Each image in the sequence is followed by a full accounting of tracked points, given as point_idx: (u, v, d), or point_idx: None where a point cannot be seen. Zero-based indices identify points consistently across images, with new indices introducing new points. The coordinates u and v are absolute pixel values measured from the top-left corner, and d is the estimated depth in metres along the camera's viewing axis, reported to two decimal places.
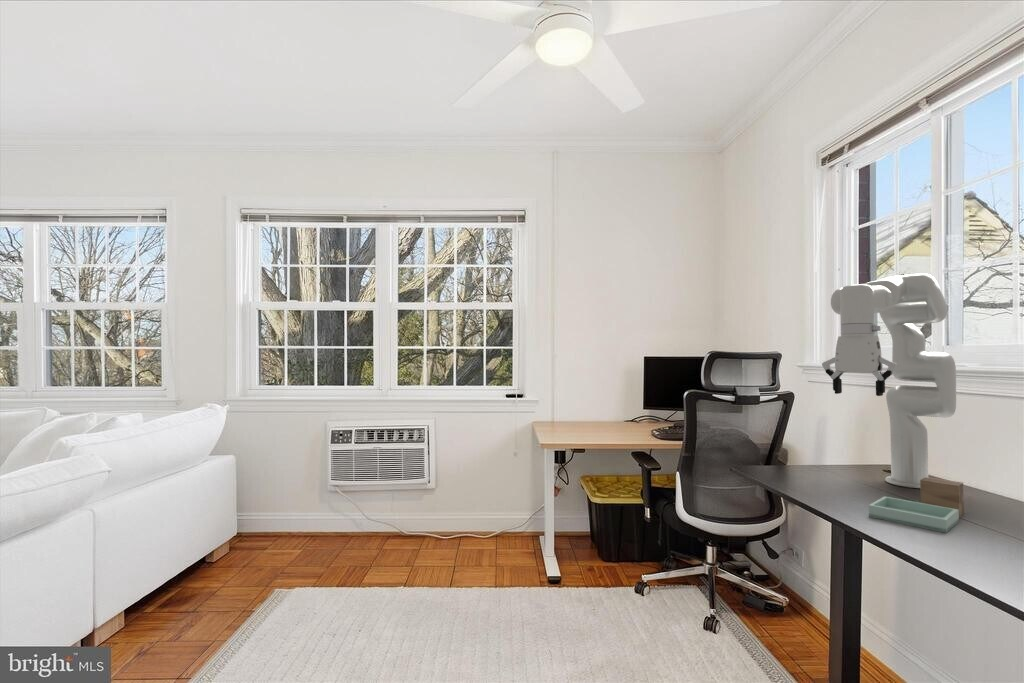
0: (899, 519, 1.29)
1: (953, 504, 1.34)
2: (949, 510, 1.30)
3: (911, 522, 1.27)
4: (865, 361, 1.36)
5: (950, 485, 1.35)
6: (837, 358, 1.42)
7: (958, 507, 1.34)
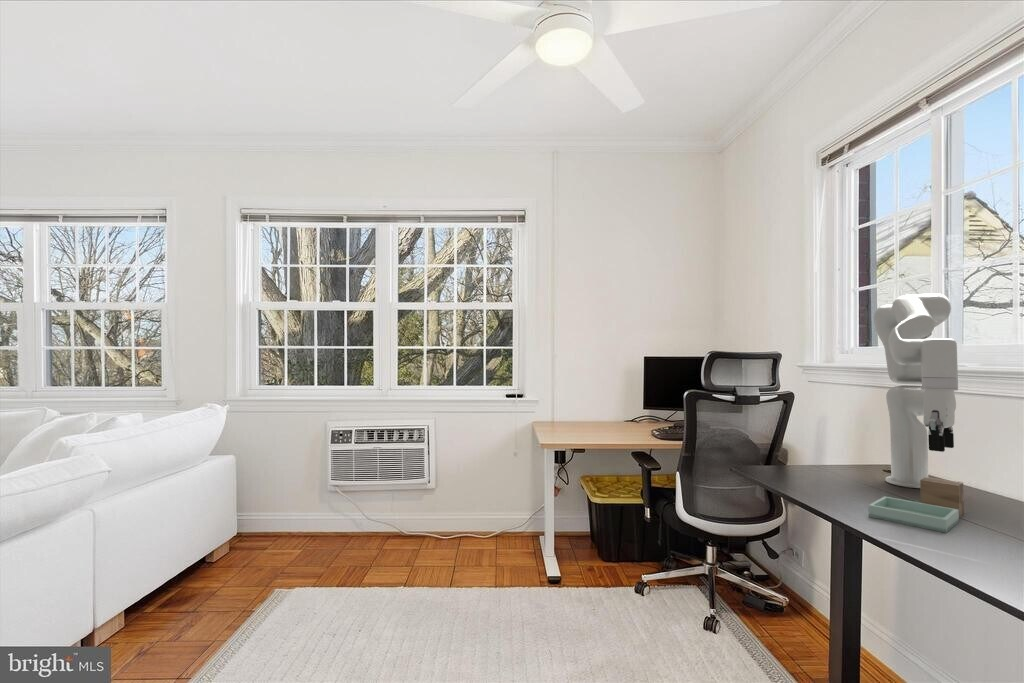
0: (899, 519, 1.29)
1: (953, 504, 1.34)
2: (949, 510, 1.30)
3: (911, 522, 1.27)
4: (953, 415, 1.38)
5: (950, 485, 1.35)
6: (946, 414, 1.34)
7: (958, 507, 1.34)
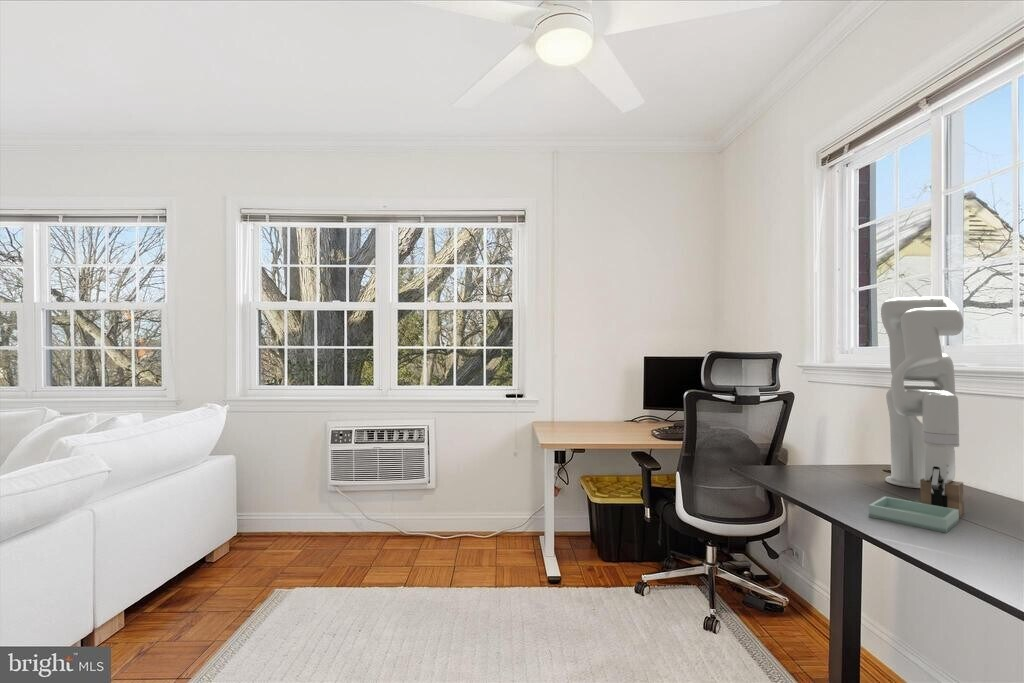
0: (899, 519, 1.29)
1: (953, 503, 1.34)
2: (949, 510, 1.30)
3: (911, 522, 1.27)
4: (954, 470, 1.38)
5: (950, 485, 1.35)
6: (947, 471, 1.34)
7: (958, 507, 1.34)
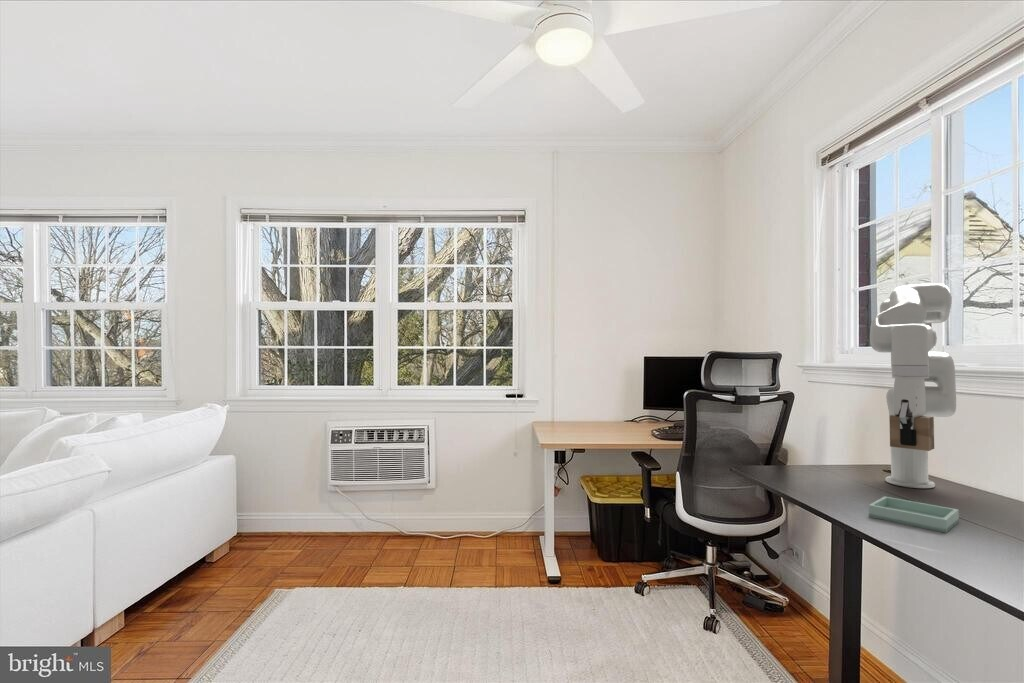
0: (899, 519, 1.29)
1: (923, 437, 1.28)
2: (949, 510, 1.30)
3: (911, 522, 1.27)
4: (924, 404, 1.32)
5: (919, 418, 1.29)
6: (916, 403, 1.28)
7: (927, 441, 1.28)
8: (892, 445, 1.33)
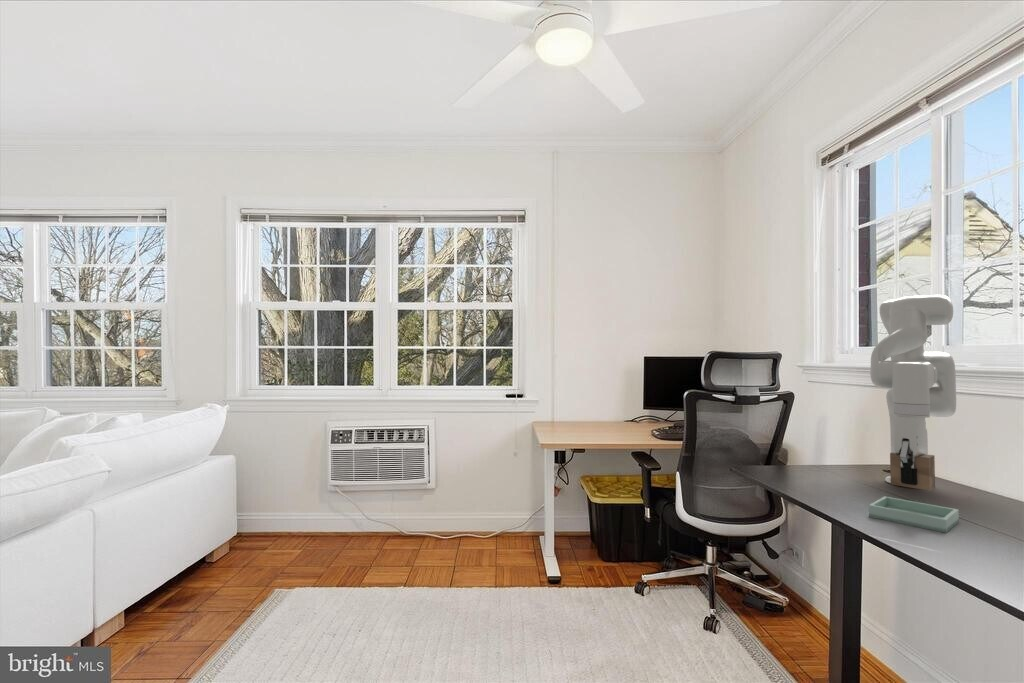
0: (899, 519, 1.29)
1: (924, 477, 1.28)
2: (949, 510, 1.30)
3: (911, 522, 1.27)
4: (925, 442, 1.32)
5: (920, 457, 1.28)
6: (917, 442, 1.28)
7: (928, 480, 1.27)
8: (892, 483, 1.33)
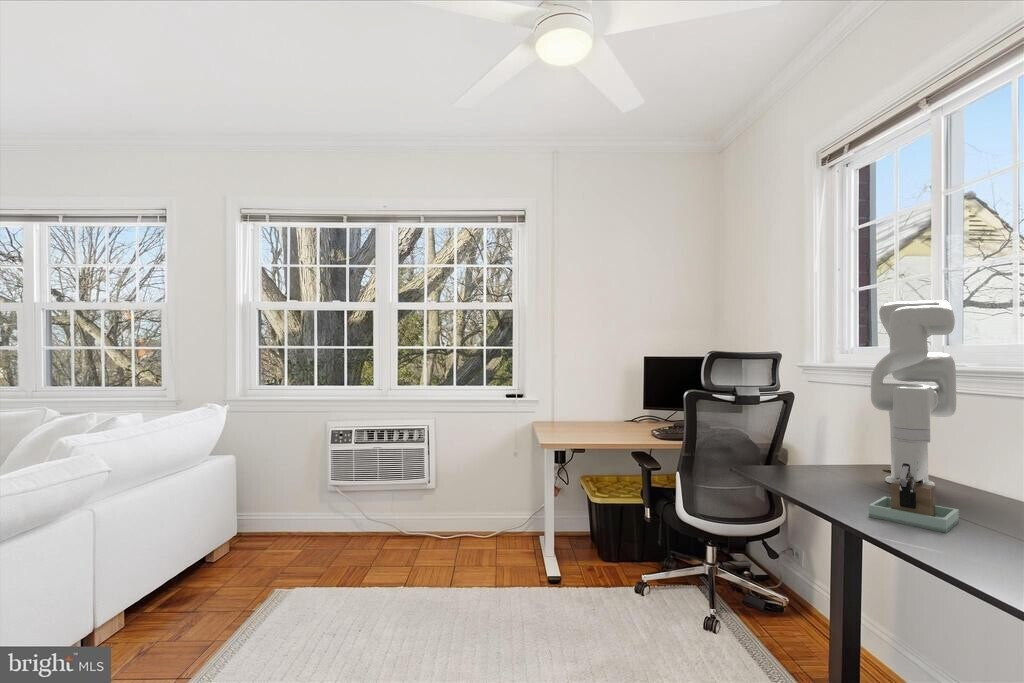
0: (899, 519, 1.29)
1: (924, 508, 1.28)
2: (949, 510, 1.30)
3: (911, 522, 1.27)
4: (925, 467, 1.32)
5: (921, 488, 1.29)
6: (917, 468, 1.28)
7: (929, 511, 1.27)
8: None
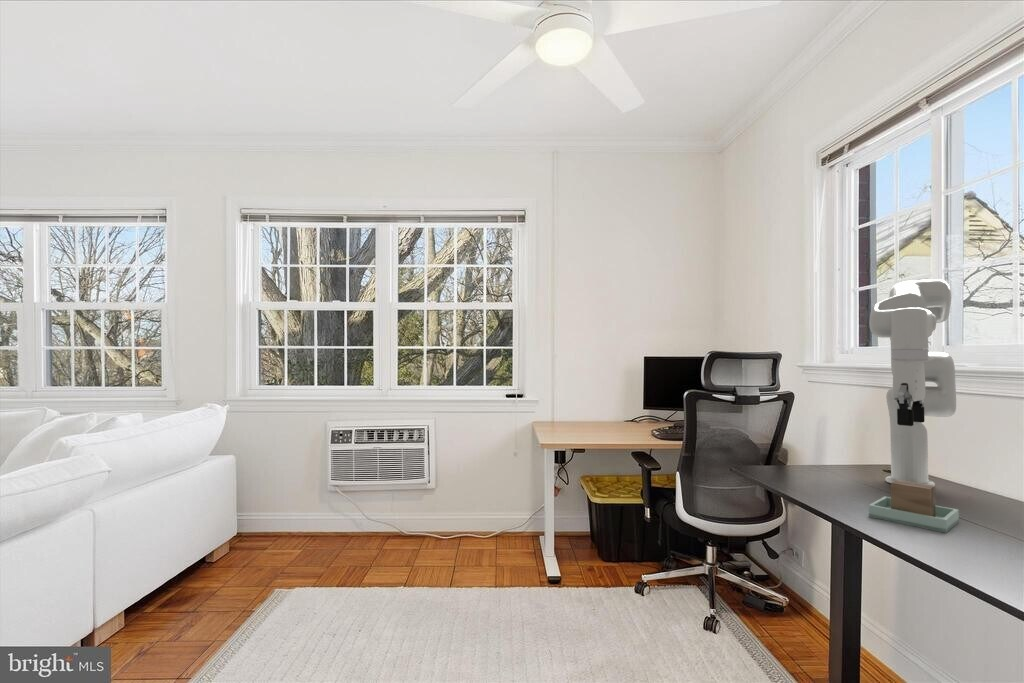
0: (899, 519, 1.29)
1: (924, 508, 1.28)
2: (949, 510, 1.30)
3: (911, 522, 1.27)
4: (924, 388, 1.32)
5: (921, 488, 1.29)
6: (916, 387, 1.28)
7: (929, 511, 1.27)
8: None
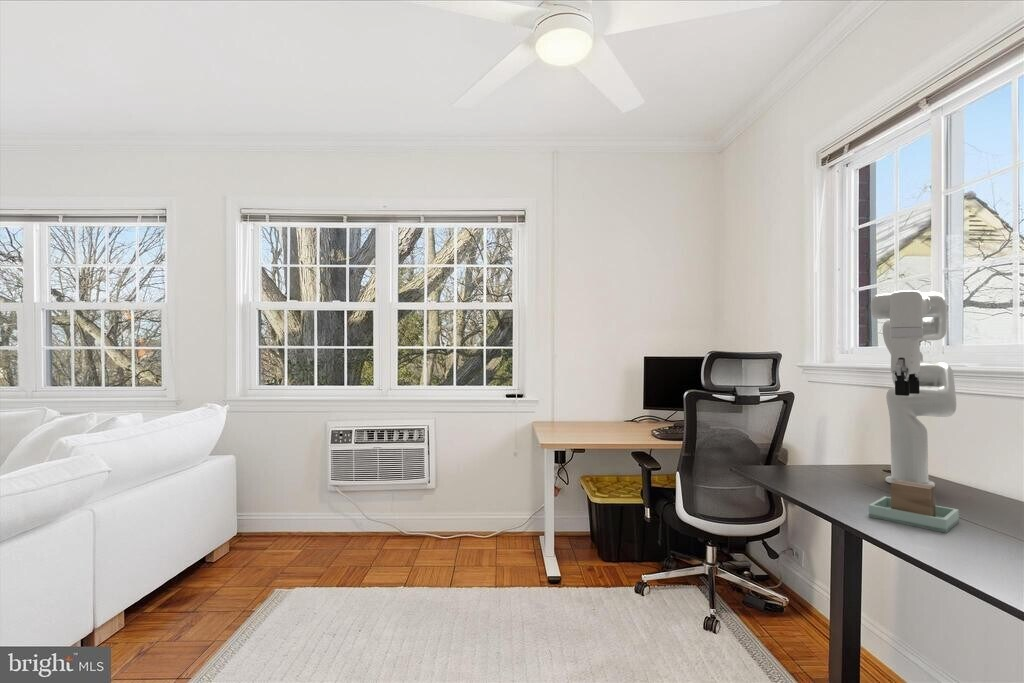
0: (899, 519, 1.29)
1: (924, 508, 1.28)
2: (949, 510, 1.30)
3: (911, 522, 1.27)
4: (919, 362, 1.47)
5: (921, 488, 1.29)
6: (911, 361, 1.43)
7: (929, 511, 1.27)
8: None
